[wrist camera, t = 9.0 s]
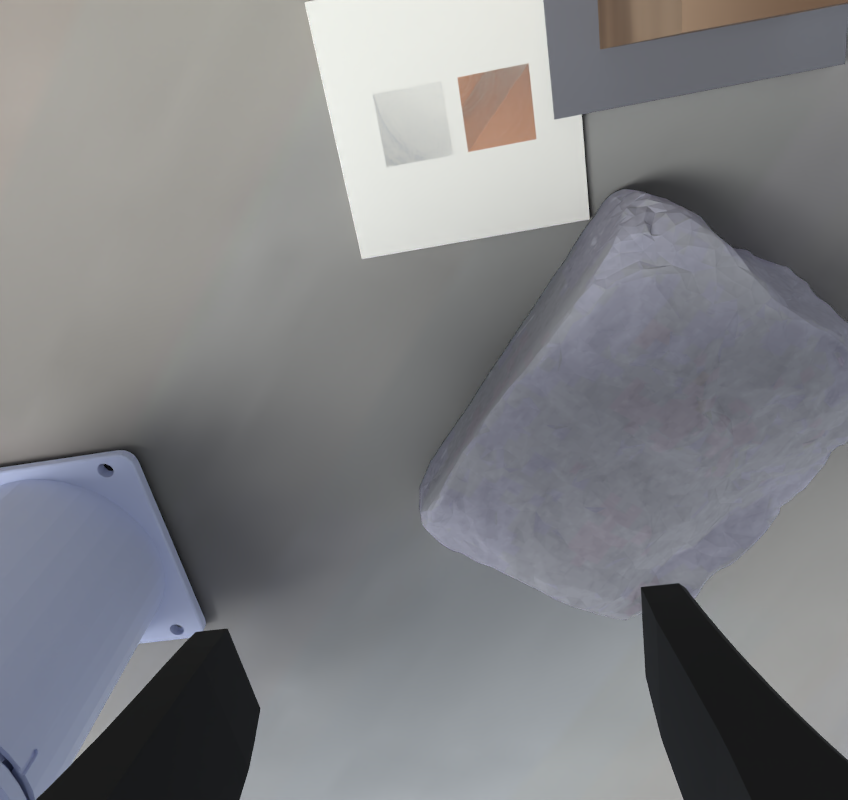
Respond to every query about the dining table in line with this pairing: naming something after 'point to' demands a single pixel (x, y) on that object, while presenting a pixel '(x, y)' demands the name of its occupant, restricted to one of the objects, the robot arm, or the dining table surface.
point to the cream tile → (446, 120)
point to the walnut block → (687, 16)
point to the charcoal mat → (680, 56)
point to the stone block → (643, 414)
